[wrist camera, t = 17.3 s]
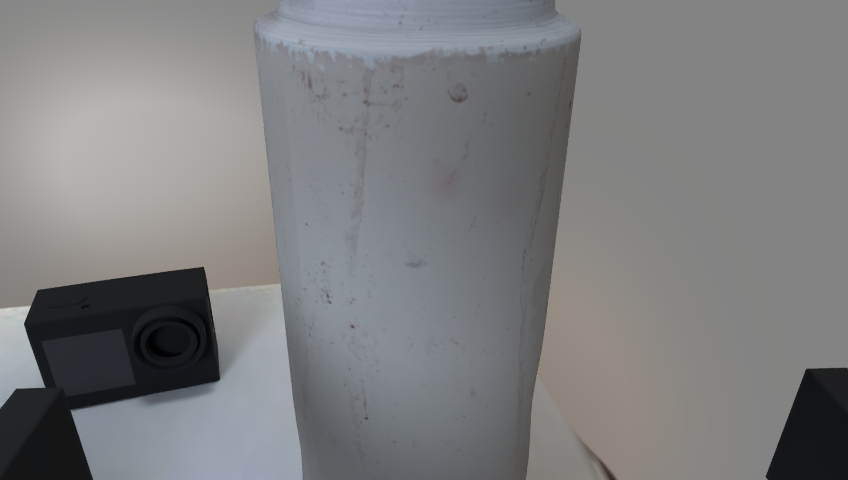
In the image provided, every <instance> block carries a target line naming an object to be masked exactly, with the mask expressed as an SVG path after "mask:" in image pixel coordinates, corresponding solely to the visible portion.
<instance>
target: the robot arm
mask: <svg viewBox="0 0 848 480" xmlns="http://www.w3.org/2000/svg"><path fill="white" fill-rule="evenodd" d="M766 478H767V479H768V480H848V369H847V368H820V369H806V371H805V374H804V376H803V379H802V382H801V384H800V387H799V390H798V392H797V395H796V398H795V400H794V403H793V406H792V408H791V411H790V413H789V416H788V419H787V421H786V424H785V427H784V430H783V432H782V435H781V438H780V440H779V443H778V445H777V448H776V451H775V454H774V456H773V459H772V462H771V464H770V467H769V469H768V472H767V475H766ZM0 480H93V478H92V475H91V472H90V469H89V466H88V463H87V460H86V457H85V454H84V451H83V448H82V445H81V441H80V438H79V435H78V432H77V429H76V426H75V423H74V420H73V417H72V414H71V411H70V408H69V405H68V402H67V399H66V396H65V392H64V389H63V388H27V389H16V390H15V391H14V392H13V394H12V395H11V396H10V398H9V399H8V400H7V401H6V403H5V404H4V405H3V406H2V408H1V409H0Z"/></svg>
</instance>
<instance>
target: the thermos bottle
mask: <svg viewBox="0 0 848 480" xmlns="http://www.w3.org/2000/svg"><path fill="white" fill-rule="evenodd" d="M254 39H255V47H256V57H257V67H258V76H259V85H260V94H261V104H262V114H263V123H264V132H265V141H266V151H267V159H268V169H269V178H270V188H271V197H272V206H273V216H274V225H275V234H276V243H277V253H278V261H279V272H280V281H281V290H282V300H283V309H284V318H285V328H286V337H287V346H288V356H289V365H290V374H291V383H292V392H293V400H294V408H295V415H296V422H297V428H298V434H299V440H300V446H301V456H302V471H303V480H526V473H527V465H528V456H529V444H530V421H531V407H532V398H533V392H534V386H535V381H536V375H537V370H538V365H539V360H540V355H541V349H542V343H543V336H544V329H545V321H546V313H547V305H548V297H549V289H550V281H551V273H552V265H553V257H554V249H555V241H556V233H557V225H558V217H559V209H560V202H561V193H562V185H563V178H564V170H565V162H566V153H567V145H568V137H569V129H570V121H571V114H572V105H573V97H574V90H575V81H576V74H577V65H578V57H579V50H580V41H581V29H580V27H579V25H578V24H577V23H576V22H575V21H574V20H572V19H570V18H567V17H565V16H563V15H561V14H560V13H558V12H557V11H556V10H555V0H280V6H279V8H277V9H276V10H274V11H272V12H269V13H267V14H264V15H262V16H261V17H260V18H259V19H258V20H257V21H255V23H254Z"/></svg>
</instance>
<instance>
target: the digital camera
mask: <svg viewBox="0 0 848 480" xmlns="http://www.w3.org/2000/svg"><path fill="white" fill-rule="evenodd" d="M24 325H25V329H26V332H27V335H28V339H29V342H30V344H31V347H32V350H33V353H34V356H35V359H36V362H37V364H38V367H39V370H40V373H41V376H42V379H43V382H44V385H45V387H46V388H63V389H64V392H65V396H66V399H67V402H68V405H69V408H70V409H73V408H78V407H84V406H89V405H94V404H100V403H105V402H110V401H115V400H121V399H126V398H131V397H137V396H142V395H147V394H153V393H158V392H163V391H168V390H173V389H178V388H184V387H189V386H194V385H199V384H204V383H209V382H214V381H218V380H219V379H220V377H219V362H218V346H217V340H216V334H215V328H214V322H213V316H212V310H211V304H210V298H209V292H208V286H207V279H206V274H205V270H204V267H199V268H191V269H184V270H175V271H168V272H160V273H153V274H147V275H139V276H132V277H124V278H117V279H110V280H104V281H96V282H89V283H83V284H76V285H69V286H62V287H55V288H49V289H42V290H38V291H37V293H36V296H35V298H34V301H33V303H32V305H31V308H30V310H29V313H28V315H27V318H26V320H25V322H24Z"/></svg>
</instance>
